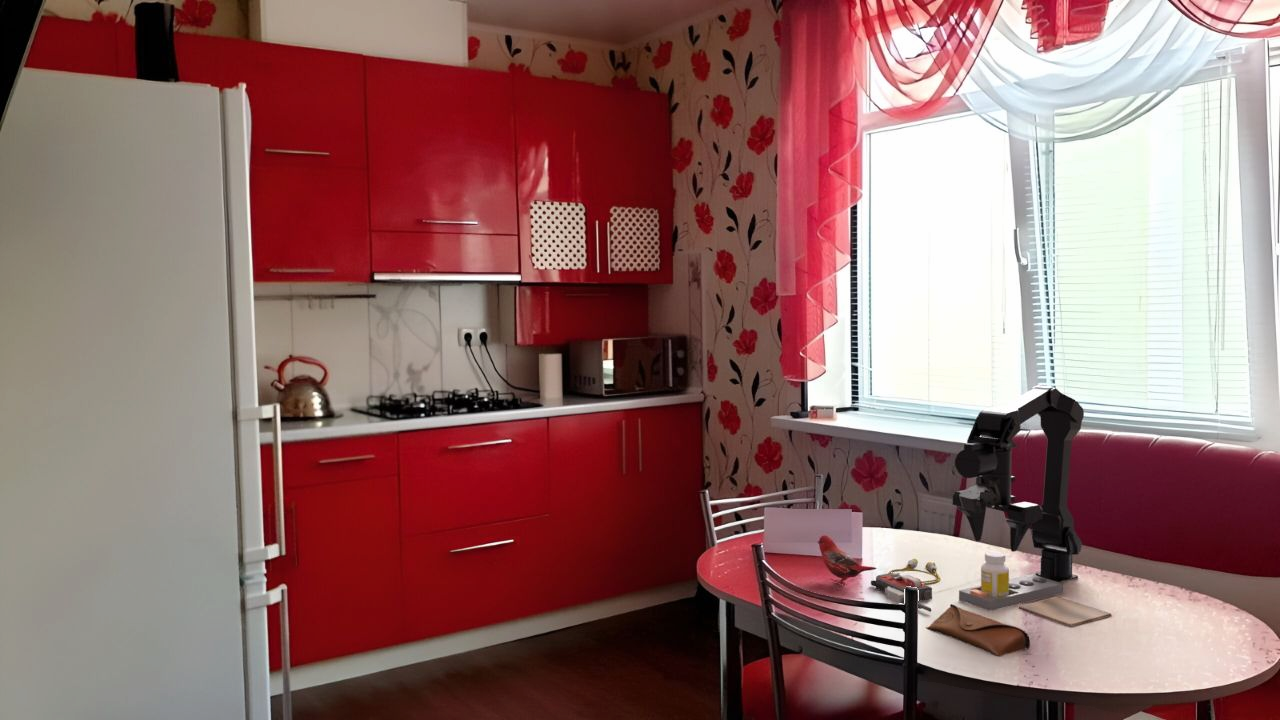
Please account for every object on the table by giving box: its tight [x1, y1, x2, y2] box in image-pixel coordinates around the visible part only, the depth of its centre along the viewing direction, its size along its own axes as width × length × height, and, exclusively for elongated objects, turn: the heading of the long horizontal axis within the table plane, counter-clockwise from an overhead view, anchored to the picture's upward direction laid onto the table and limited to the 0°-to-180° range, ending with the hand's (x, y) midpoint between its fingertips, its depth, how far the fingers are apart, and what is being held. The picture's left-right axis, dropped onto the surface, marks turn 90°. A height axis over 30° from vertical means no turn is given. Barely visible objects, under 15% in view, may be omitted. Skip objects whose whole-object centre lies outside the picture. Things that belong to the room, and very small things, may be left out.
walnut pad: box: [1018, 596, 1112, 628], centre depth 190 cm, size 12×12×1 cm
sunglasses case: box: [925, 603, 1031, 657], centre depth 178 cm, size 18×7×7 cm, turn 32°
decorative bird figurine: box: [816, 534, 878, 586], centre depth 208 cm, size 3×18×10 cm, turn 33°
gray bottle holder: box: [958, 573, 1064, 612], centre depth 200 cm, size 22×8×3 cm, turn 118°
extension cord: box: [887, 558, 941, 586], centre depth 216 cm, size 12×16×2 cm
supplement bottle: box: [980, 551, 1010, 598], centre depth 198 cm, size 5×5×10 cm
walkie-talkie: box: [870, 572, 933, 613], centre depth 200 cm, size 9×4×20 cm
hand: (995, 546), depth 197 cm, fingers open, 9 cm apart
